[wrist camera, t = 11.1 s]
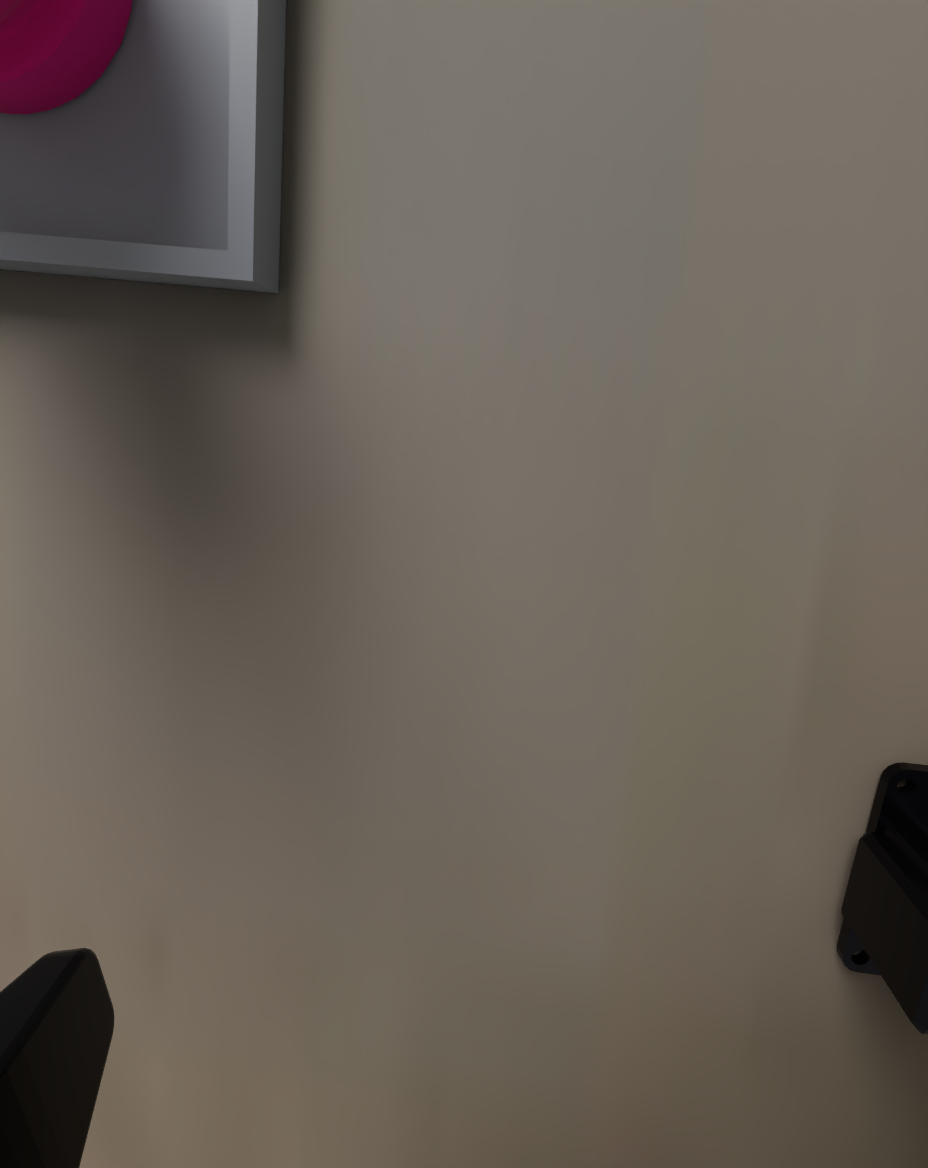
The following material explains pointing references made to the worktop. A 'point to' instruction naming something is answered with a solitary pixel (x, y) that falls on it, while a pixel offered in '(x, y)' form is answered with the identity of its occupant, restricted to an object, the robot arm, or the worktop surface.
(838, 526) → the worktop surface
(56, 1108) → the robot arm
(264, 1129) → the worktop surface
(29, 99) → the pink bowling pin
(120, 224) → the slate tray
